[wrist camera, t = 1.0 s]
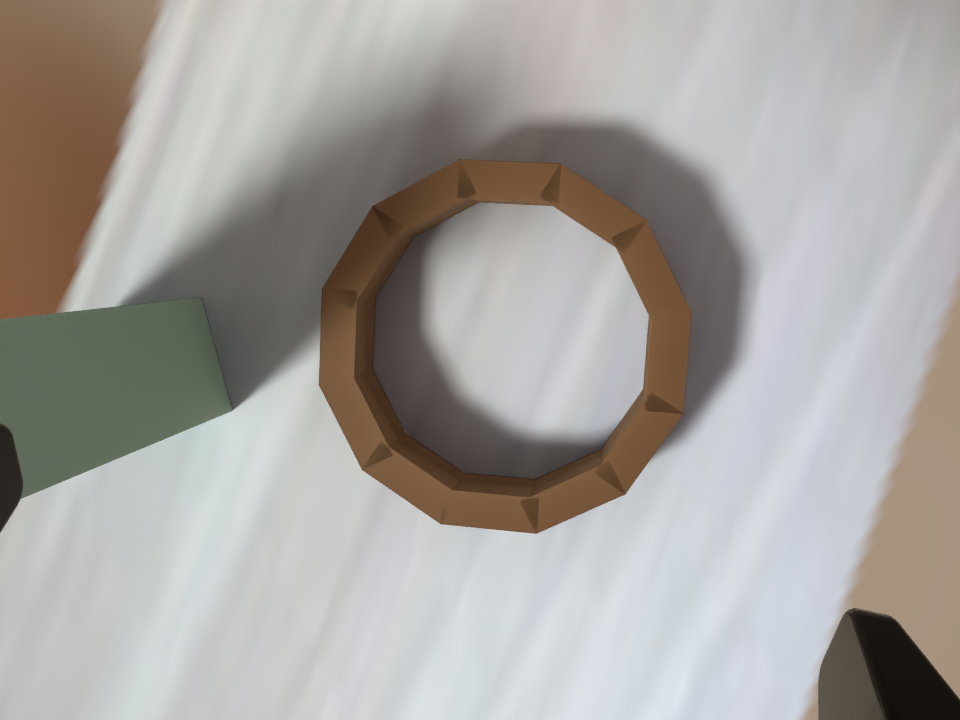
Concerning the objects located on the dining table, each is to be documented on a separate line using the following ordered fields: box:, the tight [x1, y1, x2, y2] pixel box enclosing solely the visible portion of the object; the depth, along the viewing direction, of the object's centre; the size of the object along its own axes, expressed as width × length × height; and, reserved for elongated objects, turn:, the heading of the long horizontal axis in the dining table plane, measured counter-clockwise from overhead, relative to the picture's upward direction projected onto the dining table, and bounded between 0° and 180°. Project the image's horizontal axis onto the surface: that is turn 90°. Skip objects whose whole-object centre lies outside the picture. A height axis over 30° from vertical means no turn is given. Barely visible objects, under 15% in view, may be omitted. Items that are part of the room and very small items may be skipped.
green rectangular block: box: [0, 298, 232, 499], centre depth 23 cm, size 4×4×11 cm
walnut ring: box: [319, 159, 692, 534], centre depth 25 cm, size 10×10×2 cm
